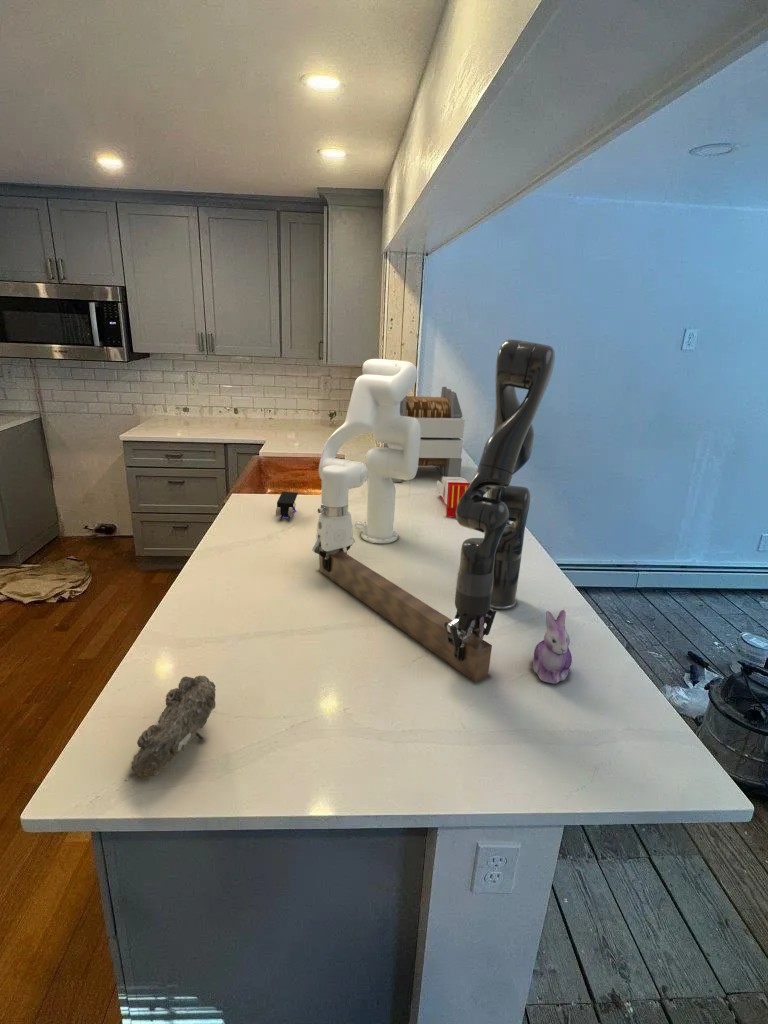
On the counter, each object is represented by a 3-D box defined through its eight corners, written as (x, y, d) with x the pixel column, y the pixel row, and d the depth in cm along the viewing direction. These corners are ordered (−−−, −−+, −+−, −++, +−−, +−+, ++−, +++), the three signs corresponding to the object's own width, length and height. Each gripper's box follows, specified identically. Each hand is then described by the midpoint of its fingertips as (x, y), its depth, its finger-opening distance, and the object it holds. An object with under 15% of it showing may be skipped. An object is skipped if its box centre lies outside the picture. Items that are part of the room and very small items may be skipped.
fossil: (164, 676, 112) (217, 643, 107) (198, 707, 115) (251, 677, 110) (105, 770, 92) (166, 735, 87) (148, 805, 95) (209, 773, 90)
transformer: (382, 463, 289) (386, 382, 275) (445, 464, 293) (451, 384, 279) (390, 482, 257) (394, 392, 243) (460, 483, 261) (468, 394, 247)
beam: (319, 570, 169) (319, 546, 167) (330, 567, 172) (331, 543, 169) (475, 682, 122) (478, 651, 119) (488, 675, 124) (492, 645, 121)
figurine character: (293, 526, 206) (298, 508, 219) (293, 507, 202) (298, 490, 216) (275, 525, 205) (281, 507, 219) (274, 507, 202) (280, 489, 215)
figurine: (551, 690, 120) (562, 629, 115) (520, 664, 128) (528, 606, 123) (584, 679, 124) (596, 619, 119) (551, 654, 132) (561, 597, 127)
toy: (463, 473, 243) (476, 484, 213) (461, 503, 245) (474, 518, 216) (435, 472, 242) (444, 483, 213) (433, 502, 245) (442, 517, 216)
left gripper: (315, 518, 152) (315, 580, 159) (366, 508, 162) (364, 566, 168) (301, 510, 158) (302, 570, 164) (351, 500, 168) (350, 557, 174)
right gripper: (462, 603, 113) (455, 675, 119) (510, 585, 121) (501, 654, 127) (437, 588, 118) (431, 658, 124) (484, 572, 127) (477, 638, 132)
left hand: (333, 567), depth 166 cm, fingers closed on beam, 4 cm apart
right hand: (466, 655), depth 126 cm, fingers closed on beam, 4 cm apart
